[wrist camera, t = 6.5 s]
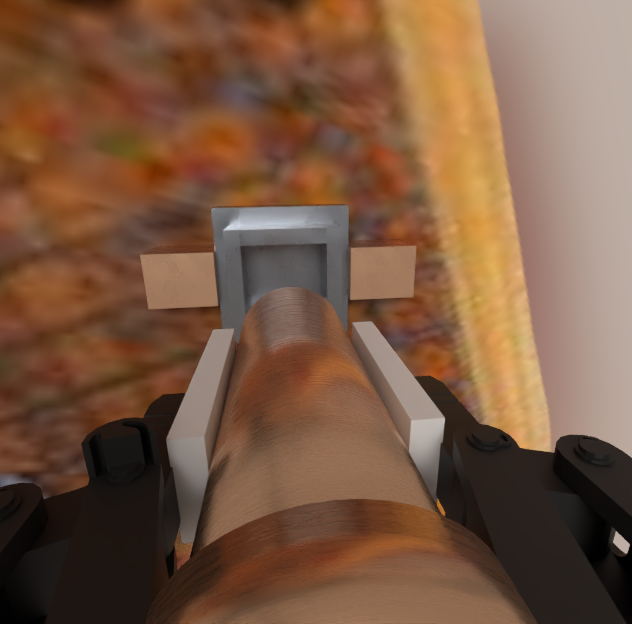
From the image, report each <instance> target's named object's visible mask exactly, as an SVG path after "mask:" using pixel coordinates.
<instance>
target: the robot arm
mask: <svg viewBox="0 0 632 624" xmlns="http://www.w3.org/2000/svg"><path fill="white" fill-rule="evenodd" d="M352 344H353V346H354V348H355V350H356V352H357V354H358V355H359V357H360V359H361V361H362V363H363V365H364V367H365V369H366V371H367V373H368V375H369V377H370V378H371V380H372V382H373V384H374V386H375V388H376V390H377V392H378V394H379V396H380V398H381V399H382V401H383V403H384V405H385V407H386V409H387V411H388V413H389V415H390V417H391V419H392V421H393V422H394V424H395V426H396V428H397V430H398V432H399V434H400V436H401V438H402V440H403V442H404V443H405V445H406V447H407V449H408V451H409V453H410V455H411V457H412V459H413V461H414V463H415V464H416V466H417V468H418V470H419V472H420V474H421V476H422V478H423V480H424V482H425V484H426V486H427V487H428V489H429V491H430V493H431V495H432V497H433V499H434V501H435V503H436V505H437V498H438V499H439V501H440V503H441V505H442V507H443V509H444V511H445V512H446V513H445V517H447V518H449V519H451V520H454V521H456V522H458V523H459V524H461V525H462V526H464V527H465V528H467V529H468V530H470V531H471V532H473V533H474V534H475V535H476V536H478V537H479V538H480V539H481V540H482V541H483V542H484V543H485V544H486V545H487V546H488V547H489V548H490V549H491V551H492V552H493V553H494V555H495V556H496V557H497V559H498V560H499V561H500V563H501V564H502V566H503V568H504V569H505V571H506V573H507V574H508V576H509V577H510V579H511V581H512V582H513V584H514V586H515V587H516V589H517V590H518V592H519V594H520V595H521V597H522V599H523V600H524V602H525V603H526V605H527V607H528V608H529V610H530V612H531V613H532V615H533V617H534V618H535V620H536V621H537V623H538V624H632V458H631V457H630V456H628V455H627V454H625V453H624V452H623V451H621V450H620V449H618V448H616V447H615V446H613V445H611V444H609V443H607V442H604V441H602V440H599V439H598V438H595V437H591V436H590V437H588V436H585V435H567V436H563V437H560V439H559V440H558V441H557V442H556V448H555V452H554V453H552V452H544V451H536V450H528V449H523V448H519V446H518V444H517V443H516V441H515V440H514V439H513V438H512V437H511V436H510V435H508V434H507V433H505V432H503V431H502V430H500V429H497V428H494V427H491V426H489V425H482V424H479V423H478V422H477V421H476V419H475V418H474V417H473V416H472V415H471V414H470V413H469V412H468V410H467V409H466V408H465V407H464V406H463V405H462V404H461V403H460V402H458V399H457V398H456V397H455V396H454V395H453V394H451V391H450V390H449V389H448V388H447V387H446V386H445V385H444V383H442V382H440V381H438V380H437V379H435V378H433V377H431V376H418V377H414V376H413V375H412V374H411V372H410V371H409V370H408V368H407V367H406V366H405V365H404V363H403V362H402V361H401V359H400V358H399V357H398V355H397V354H396V353H395V351H394V350H393V349H392V347H391V346H390V345H389V343H388V342H387V341H386V340H385V338H384V337H383V336H382V334H381V333H380V332H379V330H378V329H377V328H376V326H375V325H374V324H373V322H372V321H370V322H352ZM235 356H236V341H235V329H214V330H213V331H212V334H211V336H210V338H209V341H208V343H207V345H206V348H205V350H204V352H203V355H202V357H201V359H200V362H199V364H198V366H197V369H196V371H195V373H194V376H193V378H192V380H191V383H190V385H189V387H188V389H187V392H186V393H180V394H165V395H162V396H161V397H159V398H158V399H157V400H156V401H154V402H153V403H152V404H150V406H149V408H148V410H147V411H146V413H145V415H144V418H137V417H136V418H124V419H120V420H116V421H113V422H109V423H107V424H105V425H103V426H101V427H99V428H97V429H95V430H94V431H93V432H91V433H90V434H89V435H87V436H86V438H85V439H84V441H83V442H82V443H81V444H82V449H83V453H84V457H85V461H86V466H87V470H88V474H89V479H90V480H89V483H88V485H87V486H85V487H82V488H80V489H77V490H74V491H71V492H67V493H64V494H60V495H57V496H53V497H50V498H47V499H44V498H43V494H42V491H41V488H40V487H38V486H37V485H35V484H33V483H17V484H12V485H7V486H3V487H0V624H145V623H146V620H147V616H148V613H149V610H150V607H151V605H152V603H153V601H154V600H155V598H156V597H157V595H158V594H159V592H160V591H161V589H162V588H163V586H164V585H165V584H166V583H167V581H168V580H169V579H170V578H171V577H172V576H173V575H174V574H175V573H176V572H177V558H176V552H175V545H174V543H175V540H176V536H177V533H178V529H179V526H180V532H181V539H182V543H192V542H194V538H195V533H196V529H197V524H198V520H199V515H200V511H201V507H202V502H203V498H204V493H205V489H206V484H207V480H208V476H209V471H210V467H211V462H212V458H213V454H214V449H215V445H216V440H217V436H218V431H219V427H220V423H221V418H222V414H223V409H224V405H225V400H226V396H227V392H228V387H229V383H230V378H231V374H232V369H233V365H234V361H235ZM616 531H617V532H618V533H619V534H620V535H621V536H622V537H623V538H624V539H625V540H626V541H627V542H628V543H629V544H630V547H629V551H628V553H627V554H625V553H624V552H622V551H621V550H620V549H619V548H618V547H617V546H616V545H615V544H614V543H613V539H614V536H615V532H616Z"/></svg>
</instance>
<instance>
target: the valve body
mask: <svg viewBox="0 0 632 624" xmlns="http://www.w3.org/2000/svg"><path fill="white" fill-rule="evenodd" d="M211 215H212V225H213V236H214V245H198V246H166V247H155V248H153V249H151V250H149V251H147V252H145V253H143V254H141V255H140V257H141V263H142V270H143V276H144V283H145V289H146V296H147V302H148V308H149V309H165V308H187V307H208V306H218V305H219V303H220V309H221V319H222V329H235V341H236V342H239V339H240V334H241V330H242V325H243V322H244V319H245V316H246V314H247V312H248V311H249V309H250V308H251V306H252V305H253V304H254V303H255V302H256V301H257V300H258V299H259V298H261V297H262V296H263V295H265V294H267V293H269V292H271V291H273V290H276V289H280V288H285V287H300V288H305V289H309V290H311V291H314V292H316V293H318V294H319V295H321V296H322V297H324V298H325V299H326V300H327V301H328V302H329V303H330V304H331V305H332V307H333V308H334V310H335V312H336V313H337V315H338V317H339V319H340V321H341V323H342V325H343V327H344V329H345V331H346V332H348V297H349V299H350V300H360V299H382V298H403V297H413V292H414V276H415V260H416V245H413V244H410V243H408V242H405V241H403V240H400V239H393V240H361V241H348V231H349V205H345V204H314V205H267V206H220V207H214V208H211Z"/></svg>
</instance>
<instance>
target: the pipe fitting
mask: <svg viewBox="0 0 632 624" xmlns="http://www.w3.org/2000/svg"><path fill="white" fill-rule="evenodd" d="M145 624H538V623H537V621H536V620H535V618H534V617H533V615H532V613H531V612H530V610H529V608H528V607H527V605H526V603H525V602H524V600H523V599H522V597H521V595H520V594H519V592H518V590H517V589H516V587H515V586H514V584H513V582H512V581H511V579H510V577H509V576H508V574H507V573H506V571H505V569H504V568H503V566H502V564H501V563H500V561H499V560H498V559H497V557H496V556H495V555H494V553H493V552H492V551H491V549H490V548H489V547H488V546H487V545H486V544H485V543H484V542H483V541H482V540H481V539H480V538H479V537H478V536H476V535H475V534H474V533H473V532H471V531H470V530H468V529H467V528H465V527H464V526H462V525H461V524H459V523H458V522H456V521H454V520H451V519H449V518H447V517H445V516H443V515H442V514H441V512H440V510H439V508H438V507H437V505H436V503H435V501H434V499H433V497H432V495H431V493H430V491H429V489H428V487H427V486H426V484H425V482H424V480H423V478H422V476H421V474H420V472H419V470H418V468H417V466H416V464H415V463H414V461H413V459H412V457H411V455H410V453H409V451H408V449H407V447H406V445H405V443H404V442H403V440H402V438H401V436H400V434H399V432H398V430H397V428H396V426H395V424H394V422H393V421H392V419H391V417H390V415H389V413H388V411H387V409H386V407H385V405H384V403H383V401H382V399H381V398H380V396H379V394H378V392H377V390H376V388H375V386H374V384H373V382H372V380H371V378H370V377H369V375H368V373H367V371H366V369H365V367H364V365H363V363H362V361H361V359H360V357H359V355H358V354H357V352H356V350H355V348H354V346H353V344H352V342H351V340H350V338H349V336H348V334H347V333H346V331H345V329H344V327H343V325H342V323H341V321H340V319H339V317H338V315H337V313H336V312H335V310H334V308H333V307H332V305H331V304H330V303H329V302H328V301H327V300H326V299H325V298H324V297H322V296H321V295H319V294H318V293H316V292H314V291H311V290H309V289H305V288H300V287H285V288H280V289H276V290H273V291H271V292H269V293H267V294H265V295H263V296H262V297H261V298H259V299H258V300H257V301H256V302H255V303H254V304H253V305H252V306H251V308H250V309H249V311H248V312H247V314H246V316H245V319H244V322H243V325H242V330H241V334H240V339H239V343H238V347H237V352H236V356H235V361H234V365H233V369H232V374H231V378H230V383H229V387H228V392H227V396H226V400H225V405H224V409H223V414H222V418H221V423H220V427H219V431H218V436H217V440H216V445H215V449H214V454H213V458H212V462H211V467H210V471H209V476H208V480H207V484H206V489H205V493H204V498H203V502H202V507H201V511H200V515H199V520H198V524H197V529H196V533H195V538H194V542H193V546H192V551H191V555H190V559H189V560H188V561H187V562H186V563H185V564H183V565H182V566H181V567H180V568H179V569H178V571H177V572H176V573H175V574H174V575H173V576H172V577H171V578H170V579H169V580H168V581H167V583H166V584H165V585H164V586H163V588H162V589H161V591H160V592H159V594H158V595H157V597H156V598H155V600H154V601H153V603H152V605H151V607H150V610H149V613H148V616H147V620H146V623H145Z"/></svg>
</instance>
